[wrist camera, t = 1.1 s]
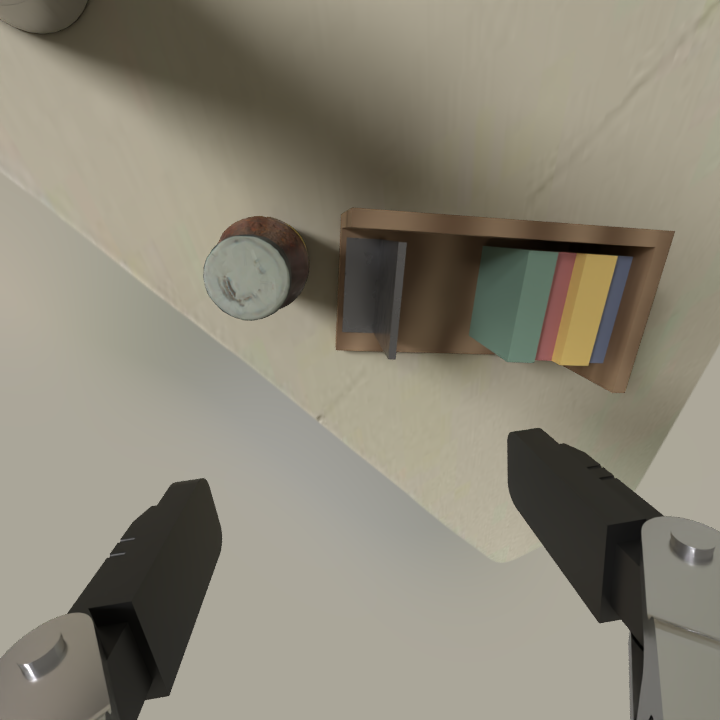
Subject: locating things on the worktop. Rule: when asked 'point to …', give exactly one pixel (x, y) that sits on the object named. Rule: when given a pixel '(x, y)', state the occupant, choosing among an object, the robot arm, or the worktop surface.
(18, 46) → the worktop surface
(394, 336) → the bookend
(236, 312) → the sauce bottle
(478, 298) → the book row
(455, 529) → the worktop surface
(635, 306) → the shelf
